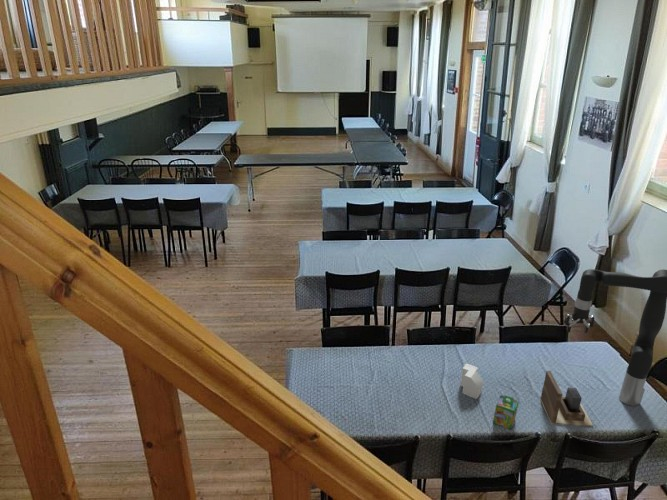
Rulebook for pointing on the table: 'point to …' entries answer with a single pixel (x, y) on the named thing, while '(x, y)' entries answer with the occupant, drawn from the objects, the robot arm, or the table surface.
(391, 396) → the table surface
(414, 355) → the table surface
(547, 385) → the post socket
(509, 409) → the chalk box
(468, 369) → the white stepped block
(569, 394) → the dark grey block
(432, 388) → the table surface
